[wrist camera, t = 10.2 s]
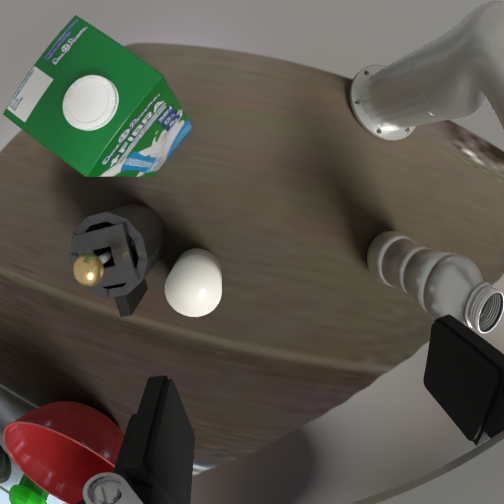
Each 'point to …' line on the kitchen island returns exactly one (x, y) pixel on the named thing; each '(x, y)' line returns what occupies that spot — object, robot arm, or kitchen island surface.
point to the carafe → (122, 251)
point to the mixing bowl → (63, 447)
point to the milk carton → (99, 106)
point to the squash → (4, 467)
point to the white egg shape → (194, 283)
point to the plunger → (95, 265)
